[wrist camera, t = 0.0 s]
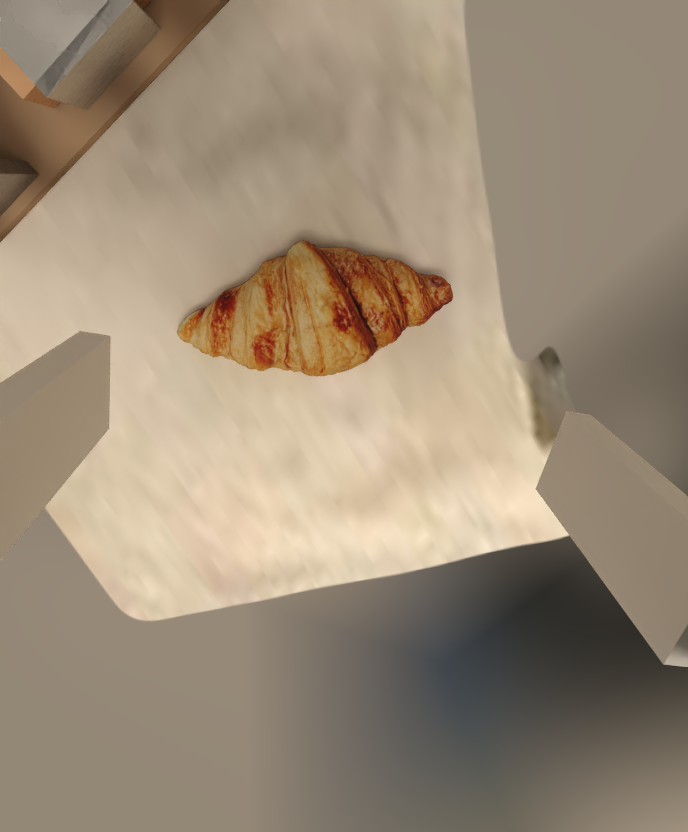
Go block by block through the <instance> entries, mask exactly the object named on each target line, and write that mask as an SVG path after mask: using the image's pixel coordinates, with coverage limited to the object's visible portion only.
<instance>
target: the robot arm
mask: <svg viewBox="0 0 688 832" xmlns="http://www.w3.org/2000/svg"><path fill="white" fill-rule="evenodd" d="M109 402H110V336H107V335H101V334H95V333H89V332H83V331H80V332H78V333H77V334H75V335H74V336H72V337H71V338H69V339H67V340H66V341H64V342H63V343H61V344H60V345H58V346H57V347H55V348H54V349H52V350H51V351H49V352H47V353H46V354H44V355H43V356H41V357H40V358H38V359H37V360H35V361H34V362H32V363H31V364H29V365H27V366H26V367H24V368H23V369H21V370H20V371H18V372H17V373H15V374H14V375H12V376H11V377H9V378H7V379H6V380H4V381H3V382H1V383H0V561H1V560H2V559H3V557H4V556H5V555H6V554H7V553H8V551H9V550H10V549H11V547H12V546H13V545H14V544H15V543H16V542H17V540H18V539H19V538H20V537H21V535H22V534H23V533H24V532H25V531H26V529H27V528H28V527H29V526H30V524H31V523H32V522H33V521H34V519H35V518H36V517H37V516H38V515H39V513H40V512H41V511H42V509H44V507H45V506H46V505H47V504H48V502H49V501H50V500H51V499H52V498H53V496H54V495H55V494H56V493H57V491H58V490H59V489H60V488H61V487H62V485H63V484H64V483H65V482H66V480H67V479H68V478H69V477H70V476H71V474H72V473H73V472H74V471H75V469H76V468H77V467H78V466H79V465H80V463H81V462H82V461H83V460H84V458H85V457H86V456H87V455H88V454H89V452H90V451H91V450H92V449H93V447H94V446H95V445H96V444H97V443H98V441H99V440H100V439H101V438H102V436H103V435H104V434H105V433H106V432H107V430H108V429H109ZM536 490H537V491H538V493H539V494H540V495H541V497H542V498H543V500H544V501H545V502H546V504H547V505H548V506H549V508H550V509H551V511H552V512H553V513H554V515H555V516H556V517H557V519H558V520H559V522H560V523H561V524H562V526H563V527H564V528H565V530H566V531H567V532H568V534H569V535H570V537H571V538H572V539H573V541H574V542H575V543H576V545H577V546H578V547H579V549H580V550H581V552H582V553H583V554H584V556H585V557H586V559H587V560H588V561H589V563H590V564H591V565H592V566H593V568H594V569H595V571H596V572H597V574H598V575H599V576H600V578H601V579H602V581H603V582H604V583H605V585H606V586H607V587H608V589H609V590H610V592H611V593H612V594H613V596H614V597H615V598H616V600H617V601H618V603H619V604H620V605H621V607H622V608H623V609H624V611H625V612H626V614H627V615H628V616H629V618H630V619H631V620H632V622H633V623H634V624H635V626H636V627H637V629H638V630H639V631H640V633H641V634H642V635H643V637H644V638H645V640H646V641H647V642H648V644H649V645H650V646H651V648H652V649H653V651H654V652H655V653H656V654H657V656H658V657H659V659H660V660H661V661H662V663H663V664H666V665H676V666H686V667H688V496H686V495H685V494H684V493H683V492H682V491H680V490H679V489H678V488H677V487H676V486H674V485H673V484H672V483H671V482H670V481H668V480H667V479H666V478H665V477H664V476H663V475H661V474H660V473H659V472H658V471H657V470H655V469H654V468H653V467H652V466H651V465H649V464H648V463H647V462H646V461H645V460H643V459H642V458H641V457H640V456H639V455H638V454H636V453H635V452H634V451H633V450H632V449H630V448H629V447H628V446H627V445H626V444H624V443H623V442H622V441H621V440H620V439H618V438H617V437H616V436H615V435H614V434H613V433H611V432H610V431H609V430H608V429H606V428H605V427H604V426H603V425H602V424H601V423H599V422H598V421H597V420H596V419H594V418H593V417H592V416H591V415H588V414H582V413H576V412H570V411H566V414H565V416H564V419H563V422H562V424H561V427H560V429H559V432H558V434H557V437H556V439H555V442H554V444H553V447H552V449H551V452H550V454H549V457H548V459H547V462H546V464H545V467H544V469H543V472H542V474H541V477H540V479H539V482H538V485H537V487H536Z"/></svg>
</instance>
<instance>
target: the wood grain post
mask: <svg viewBox="0 0 688 832" xmlns="http://www.w3.org/2000/svg"><path fill="white" fill-rule="evenodd" d="M135 1H136V2H137V3H138V4H139V5H140V6H141V7H142V8H143V9H144V8H145V7H146V6H147V5H148V4H149V3H150V2H151V1H152V0H135ZM0 75H1V76H2V78H3V79H4V80H5V81H6V82H7V83H8V84H9V85H10V86H11V87H12V88H13V89H14V90H15V91H16V93H17V94H18V95H19V96H20V97H21V98H22V99H23V100H27V101H30V102H34V103H37V104H41V105H44V106H48V107H51V108H55V107H56V106H57V104H58V103H59V102H60V101H57V100H53V99H50V98H47V97H46V96H45V95H44V94H43V93H42V92H41V91H40V90H39V89H38V87H37V86H36V85H35V84H34V83H33V82H32V81H31V80H30V79H29V78H28V77H27V75H26V74H25V73H24V72H23V71H22V70H21V69H20V68H19V67H18V66H17V65H16V63H15V62H14V61H13V60H12V59H11V58H10V57H9V56H8V55H7V54H6V52H5V51H4V50H3V49H2V48H1V47H0Z"/></svg>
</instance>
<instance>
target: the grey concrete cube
mask: <svg viewBox="0 0 688 832" xmlns="http://www.w3.org/2000/svg"><path fill="white" fill-rule="evenodd" d="M160 31H161V28H160V27H159V26H158V25H157V23H156V22H155V21H154V20H153V18H152V17H151V16H150V15H149V14H148V13H147V12H146V11H145V10H144V9H143V8H142V7H141V6H140V5H139V4H138V3H137V2H136V1H135V0H0V47H1V48H2V49H3V50H4V51H5V52H6V54H7V55H8V56H9V57H10V58H11V59H12V60H13V61H14V62H15V63H16V65H17V66H18V67H19V68H20V69H21V70H22V71H23V72H24V73H25V74H26V75H27V77H28V78H29V79H30V80H31V81H32V82H33V83H34V84H35V85H36V86H37V87H38V89H39V90H40V91H41V92H42V93H43V94H44V95H45V96H46V97H47V98H50V99H53V100H57V101H60V102H63V103H66V104H69V105H72V106H76V107H79V108H82V109H85V110H88V109H89V108H90V107H91V106H92V105H93V103H94V102H95V101H96V100H97V99H98V98H99V97H100V96H101V95H102V94H103V93H104V92H105V91H106V89H107V88H108V87H109V86H110V85H111V84H112V83H113V82H114V81H115V80H116V79H117V78H118V76H119V75H120V74H121V73H122V72H123V71H124V70H125V69H126V68H127V67H128V66H129V65H130V64H131V62H132V61H133V60H134V59H135V58H136V57H137V56H138V55H139V54H140V53H141V52H142V51H143V49H144V48H145V47H146V46H147V45H148V44H149V43H150V42H151V41H152V40H153V39H154V38H155V37H156V35H157V34H158V33H159V32H160Z"/></svg>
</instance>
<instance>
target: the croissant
mask: <svg viewBox="0 0 688 832" xmlns="http://www.w3.org/2000/svg"><path fill="white" fill-rule="evenodd" d="M452 298H453V293H452V290H451V286H450V284H449V283H448V282H447V281H446V280H445V279H444V278H442V277H439V276H436V275H422V274H418V273H417V272H415V271H414V270H413V269H412V268H410V267H409V266H407V265H406V264H404V263H402V262H401V261H395V260H392V259H390V258H389V259H384V258H380V257H377V256H375V255H362V254H360V253H359V252H357V251H355V250H353V249H349V248H321V247H316V246H315V245H314V244H311V243H310V242H307V241H304V240H303V241H300V242H298V243H296V244H293V245H292V247H291V248H290V249H289V250H288V252H287V254H286V256H281V257H278V258H275V259H272V260H270V261H267V262H264V263H262V265H261V268H260V270H258V271H257V273H256V274H255V275H254V276H252V278H251V279H250V280H248V281H247V282H245V283H244V284H242V285H240V286H238V287H234V288H231V289H229V290H227V291H225V292H223V293H222V294H221V295H220V296H219V297H218V298H217V299H216V300H215V301H214V302H212V303H211V304H210V305H209V306H208V307H206V308H203V309H200V310H199V311H196V312H194V313H193V314H191V315H189V316H187V318H186V319H185V320H184V321H183V322H182V323H181V324H180V325H179V327H178V330H177V334H178V335H179V337H180V338H181V339H182V340H183V341H184V342H188V343H191V344H192V345H193V346H194V347H195V348H198V349H199V350H200V351H201V352H202V353H205V354H209V355H210V356H212V357H218V356H224V357H226V358H227V359H232V360H235V361H236V362H237V363H238V364H241V365H243V366H246V367H247V368H248V369H257V370H258V371H262V370H263V371H264V370H266V369H269V368H271V367H276V368H280V369H283V370H292V371H293V372H297V371H302V372H303V373H304V374H306V375H309V376H326V375H333V374H336V373H339V372H343V371H346V370H349V369H351V368H353V367H355V366H357V365H360V364H362V363H364V362H366V361H367V360H368V359H369V358H370V357H371V356H373V354H374V353H375V352H376V351H377V350H379V349H380V348H382V347H384V346H387V345H388V344H389V343H393V342H394V341H396V340H397V338H398V337H399V336H400V335H401V332H402V331H403V330H405V329H406V327H407V326H408V327H411V326H420V325H422V324H424V323H425V322H426V321H427V320H428V319H429V318H430V317H431V316H432V315H433V314H434V313H435V312H436V311H438V310H440V309H441V308H442V306H443V305H445V304H448V303H449V302H451V301H452Z"/></svg>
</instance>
